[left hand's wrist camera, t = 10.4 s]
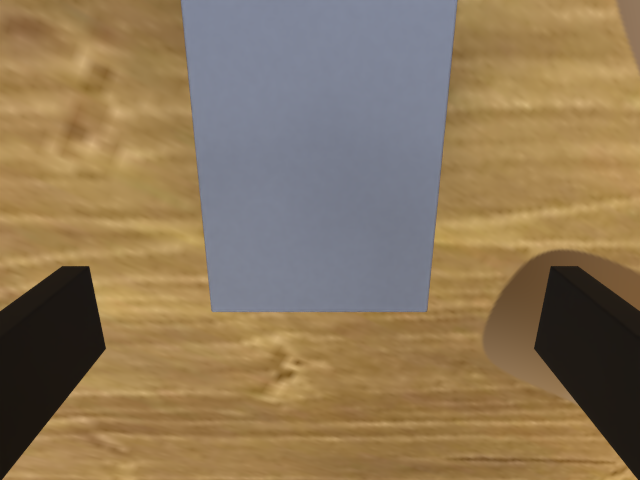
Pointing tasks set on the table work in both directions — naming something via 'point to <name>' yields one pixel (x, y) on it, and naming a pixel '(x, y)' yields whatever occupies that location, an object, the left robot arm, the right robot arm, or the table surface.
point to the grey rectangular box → (319, 149)
